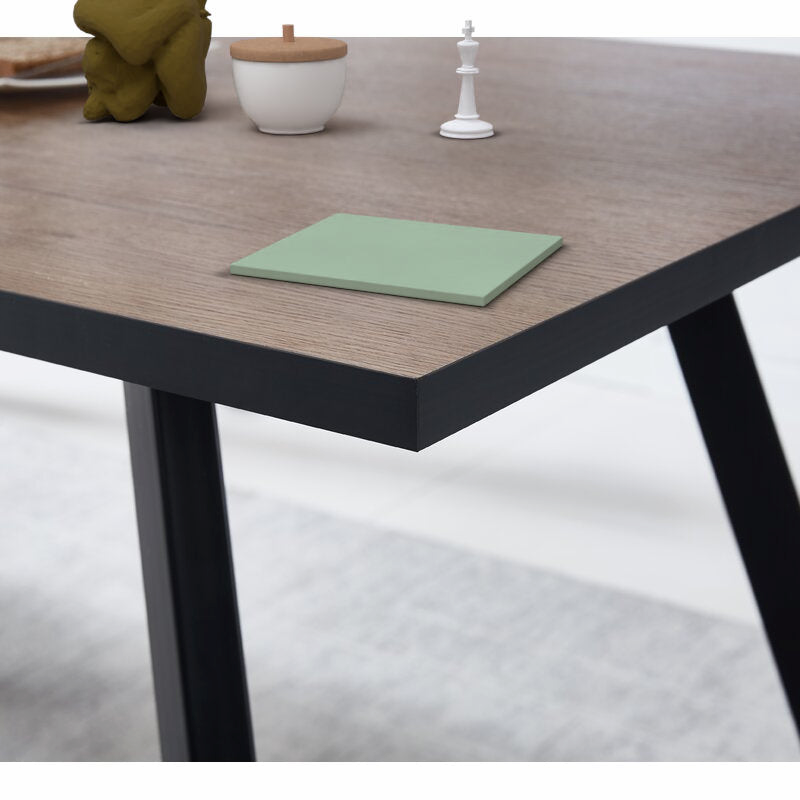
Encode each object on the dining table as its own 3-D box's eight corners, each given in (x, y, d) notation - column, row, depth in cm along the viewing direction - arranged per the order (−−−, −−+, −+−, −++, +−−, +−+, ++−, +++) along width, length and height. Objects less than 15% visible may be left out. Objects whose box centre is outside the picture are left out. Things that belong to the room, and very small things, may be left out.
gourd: (243, 107, 133) (234, -38, 128) (171, 130, 120) (158, -29, 115) (126, 102, 137) (113, -38, 132) (45, 124, 125) (27, -30, 120)
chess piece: (502, 131, 120) (505, 19, 116) (480, 140, 116) (482, 24, 112) (453, 127, 122) (455, 16, 118) (430, 136, 118) (431, 21, 114)
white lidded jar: (209, 132, 120) (204, 26, 117) (279, 115, 129) (275, 16, 125) (304, 143, 115) (301, 33, 111) (370, 125, 123) (369, 22, 120)
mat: (562, 245, 83) (563, 236, 82) (483, 307, 71) (484, 296, 71) (337, 221, 89) (337, 212, 89) (229, 273, 77) (229, 264, 77)
